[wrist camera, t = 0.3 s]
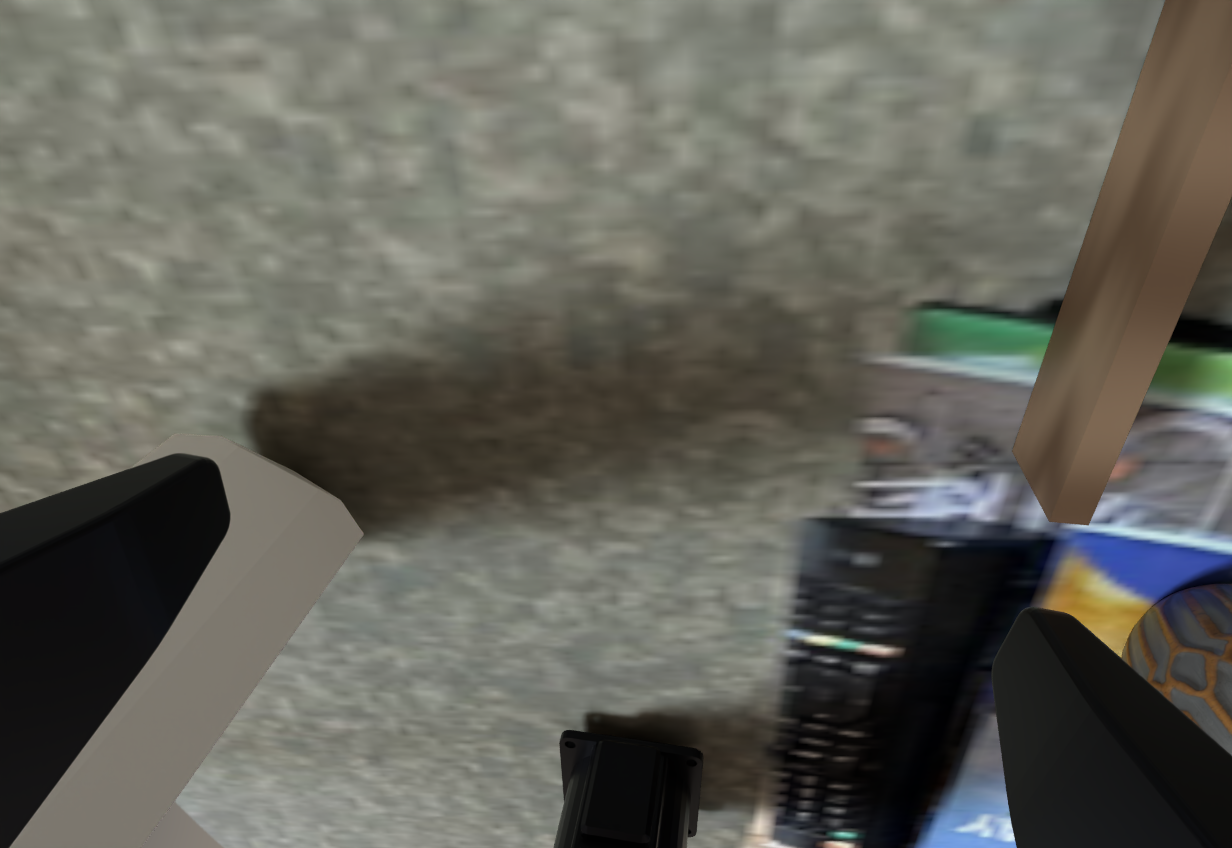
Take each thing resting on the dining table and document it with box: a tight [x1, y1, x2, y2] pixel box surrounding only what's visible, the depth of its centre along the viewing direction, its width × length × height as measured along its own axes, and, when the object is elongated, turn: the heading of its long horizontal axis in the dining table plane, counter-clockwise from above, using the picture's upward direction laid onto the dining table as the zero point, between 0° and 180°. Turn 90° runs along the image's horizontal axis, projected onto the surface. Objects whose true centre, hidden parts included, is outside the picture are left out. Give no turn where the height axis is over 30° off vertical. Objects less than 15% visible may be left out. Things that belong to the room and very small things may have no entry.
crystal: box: [10, 434, 364, 848], centre depth 19 cm, size 7×7×24 cm
